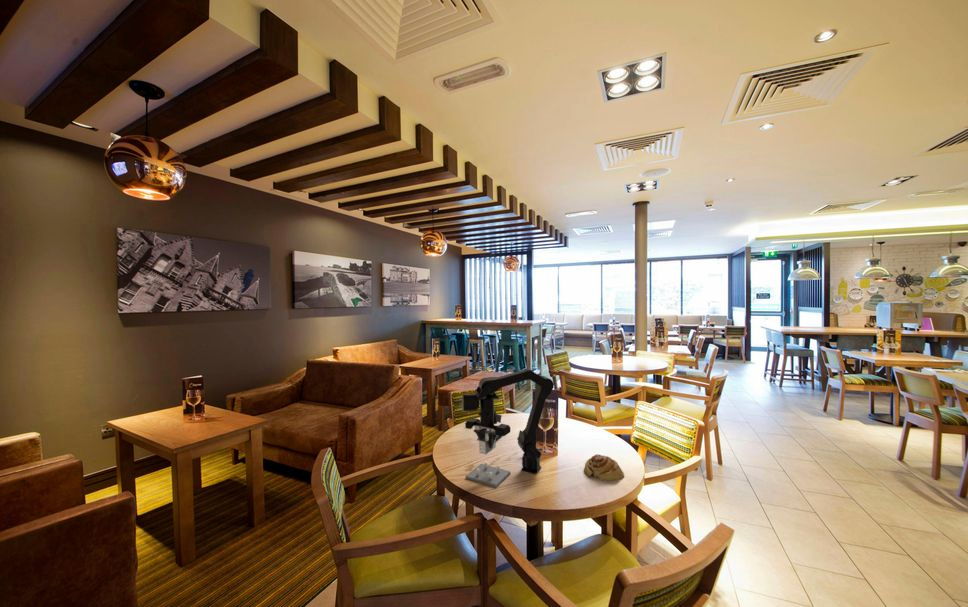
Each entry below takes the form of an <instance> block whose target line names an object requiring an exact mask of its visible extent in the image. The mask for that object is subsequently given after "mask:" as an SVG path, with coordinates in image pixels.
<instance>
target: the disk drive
mask: <svg viewBox="0 0 968 607" xmlns="http://www.w3.org/2000/svg"><path fill="white" fill-rule="evenodd" d="M489 433H491V430H490V429H486V431H485V436H487V435H488V434H489ZM502 437H503V436H499V435H497V436H496V442H497V441H499V440H500V439H501V438H502ZM477 439H478V440H479V438H478V437H477Z"/></svg>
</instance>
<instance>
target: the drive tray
mask: <svg viewBox="0 0 968 607" xmlns="http://www.w3.org/2000/svg"><path fill="white" fill-rule="evenodd" d="M510 475H511V471H510V470H506V469H503V468H501V467H500V465H499V464H498V465H496V467H495V466H491V465H488V462H487V461H484V463H480V464H479V465H477V466H476V467H475V468H474V469H472V470H471V471H470V472H469V473H468V474H466V475H465V479H466V480H470V481H472V482H477V483H480V484H482V485H487V486H489V487H492V488H493V487H494V488H497V487H499V486H500V484H502V483H503V481H505V480H506V479H507V478H508V477H509V476H510Z"/></svg>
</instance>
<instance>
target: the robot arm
mask: <svg viewBox="0 0 968 607" xmlns="http://www.w3.org/2000/svg"><path fill="white" fill-rule="evenodd" d="M527 380H530V381H531V382H533V383H534V384H535V385H534V394H535V396H534V399H533V403H532V406H531V409H530V412H529V416H528V420H527V423H526V425H525V428H523V430H521V429H520V430H519V431H518V437H517V438H516V440H517V444H518V446H519V448H520V449H521V451H522V453H523V454H522V457H521V465H522V468H521V471H524V472H528V473H531V474H537V473H538V472H540V470H541V469H542V465H540V464H541V461H540V460H541V456H542V452H541V450H539V448H538V447H537V442H538V441H537V430H538V428H539V425H540V421H541V417H542V415H543V411H544V407H545V405H546V400H547V399H548V398H549V397H550V395H551V394H552V392H553V390H554V387H555V384H554V381H553V380H552V379H550V378H549V377H547V376H545V375H539V374H538V373H536V372H534V370H532V369H530V368H524V369H522V370H518V371H515V372H511V373H508V374H504V375H501V376H486V377H482V378H481V379H480V380H479V382H478V386H477V387H476V389H475V390H474V392H473V393H463V394H462V397H461V401H460V402H461V403H460V404H461V411H462V412H463V413H464V412H474V411H477V410H479V412H478V416H479V418H475V417H471V418H469V419H467V420H466V421H465V423H464V428H465V429H468V430H472V429H473V428H474V429H473V432H474V433H475V434H476V436H477V439H478V438H479V439H478V440H481V439H482V438H484V437H485V431H486V429H490V430H491V433H489V434H488V437H489V446H490V449H491V448H492V447H493V444H494V441H495V438H496V436H497V435H499V436H502V437H505V436H507V435H508V434H510V433H511V426H510V424H506V423H505V424H504V423H502V421H501V420H502V414H499V413H497V412H496V410H495V400H496V399H497V400H498V399H499V398H500V396H498V395H497V393H496V392H498V391H499V390H501V389H502V388H505V387H507V386H510V385H515V384H517V383H521V382H525V381H527ZM535 389H536V390H535ZM498 423H499V424H498ZM497 424H498V425H497Z"/></svg>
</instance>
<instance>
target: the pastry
mask: <svg viewBox="0 0 968 607" xmlns="http://www.w3.org/2000/svg"><path fill="white" fill-rule="evenodd" d="M583 474H585V475H586V476H587V477H588V478H595V477H596V479H597V478H598V480H600V479H601V481H604V480H606V482H613V480H616V481H619V480H621V479H620V478H622V479H624V478H625V474H624V471H623V469H622V468H621V466H620V465H619V464H618V462H617V461H616V460H614V459H612V458H611V457H609V456H607V455H601V454H594V455H592V456H591V457H590V458H588V459H587V460H586V462H585V463H584V468H583ZM591 476H592V477H591ZM618 479H619V480H618Z"/></svg>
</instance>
